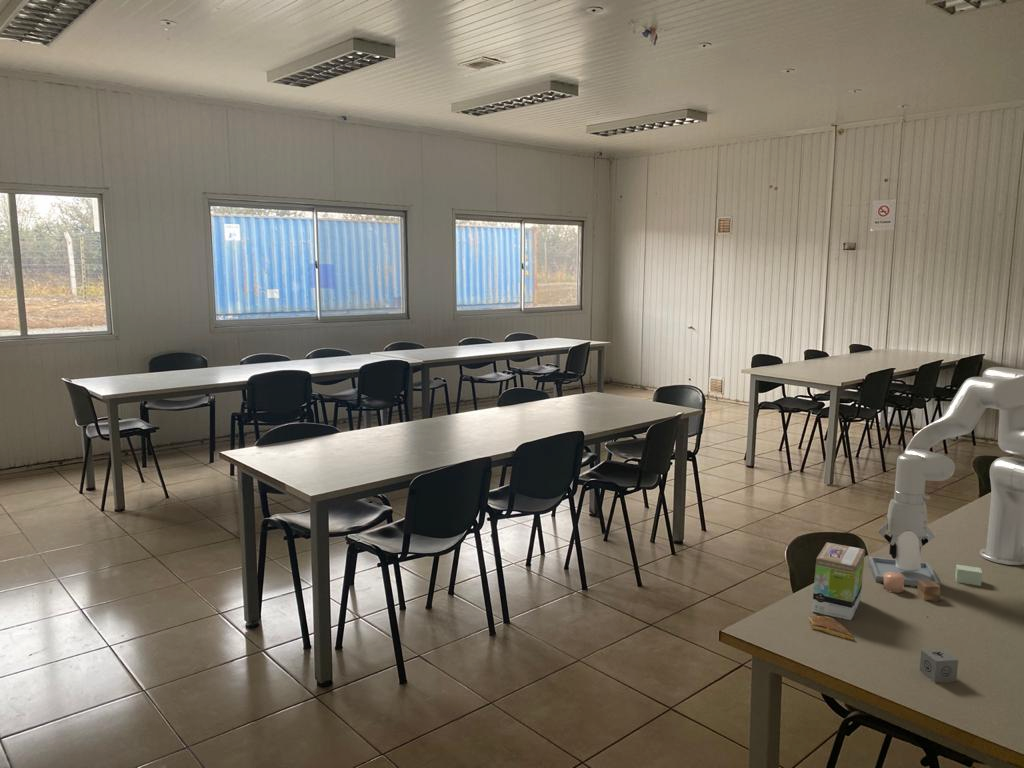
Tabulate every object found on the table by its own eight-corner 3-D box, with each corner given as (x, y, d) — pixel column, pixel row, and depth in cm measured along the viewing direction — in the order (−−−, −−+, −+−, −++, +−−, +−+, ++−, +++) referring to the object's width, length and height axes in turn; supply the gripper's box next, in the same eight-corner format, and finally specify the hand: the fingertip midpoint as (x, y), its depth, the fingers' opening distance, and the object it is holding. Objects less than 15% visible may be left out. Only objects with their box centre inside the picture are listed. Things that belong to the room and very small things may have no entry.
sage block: (979, 581, 218) (980, 567, 217) (980, 586, 214) (982, 572, 214) (955, 577, 220) (956, 564, 220) (956, 582, 217) (957, 569, 216)
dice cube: (940, 670, 168) (942, 648, 168) (956, 681, 163) (958, 659, 163) (919, 671, 168) (921, 649, 167) (934, 683, 163) (936, 661, 162)
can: (912, 562, 224) (911, 523, 223) (925, 570, 218) (924, 529, 217) (891, 564, 224) (889, 525, 223) (903, 572, 218) (902, 532, 216)
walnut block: (932, 595, 208) (933, 581, 207) (939, 601, 204) (940, 586, 203) (917, 594, 208) (918, 580, 208) (923, 600, 204) (925, 586, 204)
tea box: (852, 621, 191) (857, 565, 189) (810, 612, 197) (814, 557, 195) (861, 600, 204) (865, 547, 202) (821, 592, 209) (825, 540, 207)
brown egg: (893, 584, 215) (894, 570, 214) (908, 590, 210) (908, 576, 209) (879, 587, 213) (879, 573, 212) (893, 593, 208) (893, 579, 208)
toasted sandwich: (854, 642, 181) (854, 635, 181) (822, 643, 181) (823, 636, 181) (833, 622, 192) (834, 615, 192) (803, 622, 192) (804, 615, 192)
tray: (927, 568, 227) (928, 562, 226) (939, 589, 211) (939, 583, 211) (868, 562, 231) (869, 556, 231) (875, 581, 216) (876, 575, 216)
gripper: (939, 496, 219) (934, 557, 222) (874, 491, 224) (870, 550, 227) (945, 504, 212) (940, 566, 215) (877, 498, 217) (873, 559, 220)
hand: (904, 557), depth 221 cm, fingers closed on can, 5 cm apart
